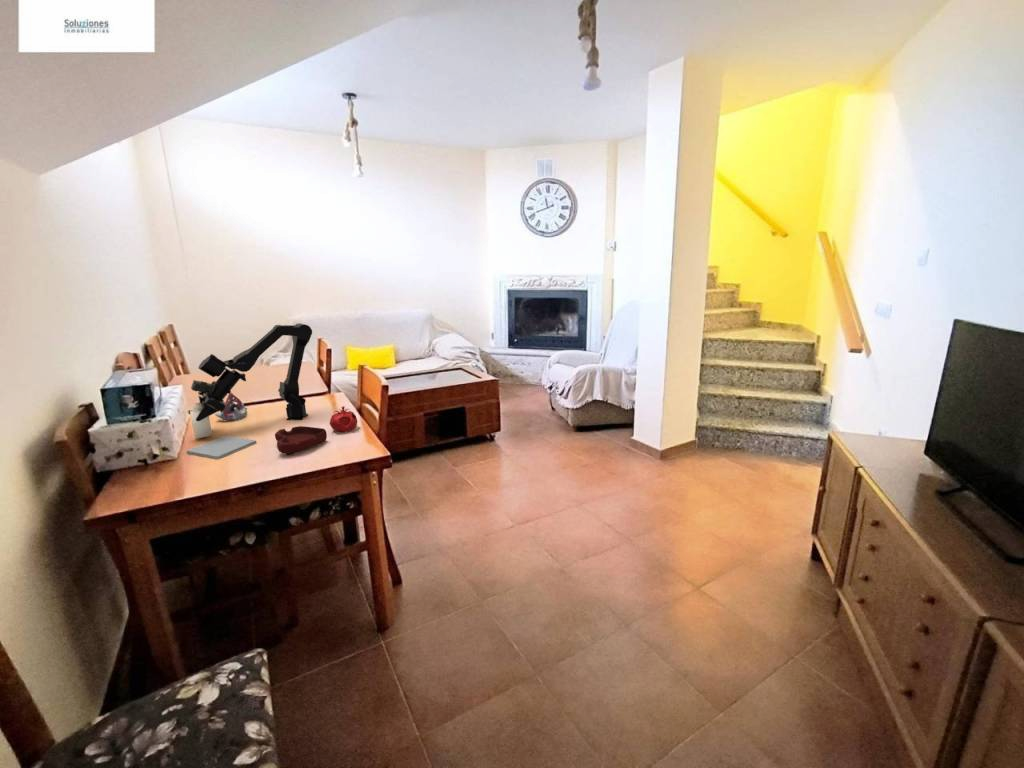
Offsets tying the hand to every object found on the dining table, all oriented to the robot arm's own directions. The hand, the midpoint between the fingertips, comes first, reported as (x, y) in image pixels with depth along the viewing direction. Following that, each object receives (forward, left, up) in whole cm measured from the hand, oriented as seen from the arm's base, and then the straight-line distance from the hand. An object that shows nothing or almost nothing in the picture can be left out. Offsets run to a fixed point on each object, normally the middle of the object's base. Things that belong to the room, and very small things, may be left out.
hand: (195, 418), depth 171 cm
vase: (-1, -1, -7) cm, 7 cm away
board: (-14, +9, -8) cm, 18 cm away
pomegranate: (-51, -8, -8) cm, 52 cm away
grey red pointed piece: (+1, -24, -8) cm, 25 cm away
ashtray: (-42, +8, -8) cm, 43 cm away
